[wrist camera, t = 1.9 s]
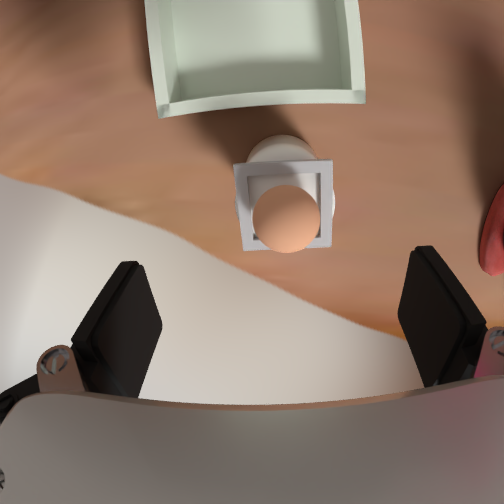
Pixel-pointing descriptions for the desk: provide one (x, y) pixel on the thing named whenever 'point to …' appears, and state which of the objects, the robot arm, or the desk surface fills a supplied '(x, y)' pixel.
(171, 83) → the tray
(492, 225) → the stacking bear
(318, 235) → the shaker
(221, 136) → the desk surface
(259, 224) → the ball
